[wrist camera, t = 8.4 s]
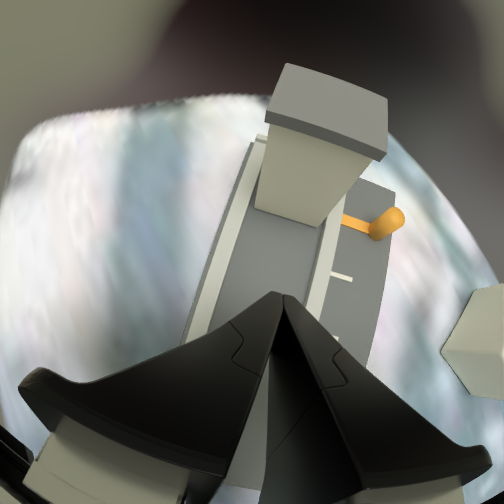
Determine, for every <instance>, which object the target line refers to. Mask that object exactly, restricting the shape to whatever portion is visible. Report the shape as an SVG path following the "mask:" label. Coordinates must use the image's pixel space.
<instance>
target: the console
mask: <svg viewBox="0 0 504 504" xmlns="http://www.w3.org/2000/svg"><path fill="white" fill-rule="evenodd" d="M266 142H267V136H263V135H260V134H257V136H256V139H255V143H253V142H251V143H250V145H249V148H248V150H247V153H246V156H245V158H244V161H243V163H242V166H241V168H240V171H239V174H238V176H237V179H236V182H235V184H234V187H233V190H232V192H231V195H230V198H229V200H228V203H227V206H226V209H225V211H224V214H223V217H222V220H221V222H220V225H219V228H218V231H217V234H216V236H215V239H214V242H213V245H212V248H211V251H210V254H209V257H208V259H207V262H206V265H205V268H204V271H203V274H202V277H201V280H200V283H199V286H198V289H197V292H196V295H195V298H194V301H193V305H192V308H191V311H190V314H189V317H188V320H187V323H186V326H185V330H184V333H183V336H182V339H181V343H180V346H181V345H183V344H185V343H188V342H190V341H192V340H194V339H197V338H199V337H201V336H203V335H205V334H207V333H209V332H211V331H212V330H214V329H216V328H217V327H219V326H221V325H222V324H223V323H225V322H227V321H229V320H230V319H231V318H233V317H234V316H236V315H237V314H239V313H240V312H242V311H243V310H244V309H246V308H247V307H249V306H250V305H251V304H253V303H254V302H256V301H257V300H259V299H260V298H261V297H263V296H264V295H266V294H267V293H268V292H270V291H275V292H279V293H281V294H282V295H283V294H287V295H291V296H294V297H295V298H296V299H297V300H298V301H299V302H300V303H301V304H302V305H303V306H304V307H305V308H306V309H307V310H308V311H309V312H310V313H311V314H312V315H313V316H314V317H315V318H316V319H317V321H318V322H319V323H320V324H321V325H322V326H323V327H324V328H325V329H326V330H327V331H328V332H329V333H330V334H331V335H332V336H333V337H334V338H335V339H336V340H337V341H338V342H339V343H340V344H341V345H342V346H343V348H345V349H346V350H347V351H348V352H349V353H350V354H351V355H352V356H353V357H354V358H355V359H356V360H357V361H358V362H359V363H360V364H361V365H363V366H364V367H365V368H366V364H367V361H368V357H369V353H370V349H371V345H372V341H373V337H374V333H375V329H376V325H377V320H378V315H379V311H380V306H381V301H382V296H383V290H384V285H385V279H386V273H387V266H388V259H389V252H390V244H391V236H392V232H394V231H396V230H397V229H399V228H400V227H402V226H403V225H404V222H405V217H404V214H403V213H402V211H401V210H400V209H398V208H397V207H394V204H395V192H393V191H391V190H388V189H386V188H384V187H381V186H379V185H377V184H374V183H372V182H369V181H367V180H364V179H362V178H358V179H357V180H356V181H355V183H354V184H353V185H352V186H351V188H350V189H349V190H348V191H347V193H346V194H345V195H344V196H343V197H342V199H341V200H340V201H339V202H338V204H337V205H336V206H335V207H334V208H333V210H332V211H331V212H330V213H329V214H328V216H327V217H326V218H325V219H324V220H323V222H322V223H321V224H320V225H319V226H318V228H316V227H313V226H310V225H307V224H304V223H301V222H297V221H294V220H291V219H288V218H285V217H282V216H278V215H275V214H272V213H269V212H265V211H262V210H259V209H256V208H254V205H255V200H256V195H257V189H258V184H259V179H260V173H261V168H262V163H263V158H264V152H265V147H266ZM268 378H269V358H268V361H267V364H266V367H265V370H264V373H263V376H262V379H261V382H260V385H259V388H258V391H257V394H256V397H255V400H254V403H253V406H252V408H251V411H250V414H249V417H248V420H247V422H246V425H245V428H244V431H243V433H242V436H241V439H240V441H239V444H238V447H237V449H236V452H235V455H234V457H233V460H232V462H231V465H230V468H229V470H228V473H227V476H226V478H225V480H224V482H223V483H224V484H228V485H233V486H238V487H243V488H248V489H254V490H260V491H261V489H262V485H263V480H264V475H265V467H266V444H267V415H268Z"/></svg>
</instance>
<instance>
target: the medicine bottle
mask: <svg viewBox="0 0 504 504" xmlns="http://www.w3.org/2000/svg"><path fill="white" fill-rule="evenodd" d="M441 353H442V355H443V357H444V358H445V359H446V361H447V362H448V363H449V365H450V366H451V367H452V369H453V370H454V371H455V373H456V374H457V376H458V377H459V378H460V380H461V381H462V383H463V384H464V385H465V387H466V388H467V390H468V391H469V393H470V394H471V395H473V396H478V397H484V398H491V399H497V400H504V283H502V284H498V285H494V286H490V287H486V288H482V289H478V290H475V291H474V292H473V294H472V296H471V298H470V300H469V302H468V304H467V306H466V308H465V310H464V312H463V314H462V316H461V317H460V319H459V321H458V323H457V325H456V327H455V328H454V330H453V332H452V333H451V335H450V337H449V339H448V340H447V342H446V343H445V345H444V347H443V348H442V350H441Z"/></svg>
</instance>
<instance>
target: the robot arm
mask: <svg viewBox="0 0 504 504" xmlns="http://www.w3.org/2000/svg"><path fill="white" fill-rule="evenodd" d="M268 358H269V378H268V415H267V444H266V467H265V475H264V480H263V485H262V489H261V494H260V498H259V502H258V504H465V503H464V495H463V488H462V486H463V485H465V484H467V483H469V482H470V481H472V480H474V479H476V478H477V477H479V476H480V475H482V474H483V473H485V472H486V471H487V470H489V469H490V468H491V467H492V460H491V457H490V455H489V453H488V451H487V450H486V448H485V447H484V446H483V445H475V446H471V447H463V446H460V445H458V444H456V443H454V442H453V441H452V440H451V439H449V438H448V437H447V436H446V435H444V434H443V433H442V432H441V431H440V430H438V429H437V428H436V427H435V426H434V425H432V424H431V423H430V422H429V421H427V420H426V419H425V418H424V417H423V416H421V415H420V414H419V413H418V412H417V411H415V410H414V409H413V408H412V407H411V406H409V405H408V404H407V403H406V402H405V401H404V400H402V399H401V398H400V397H399V396H398V395H396V394H395V393H394V392H393V391H392V390H390V389H389V388H388V387H387V386H386V385H385V384H383V383H382V382H381V381H380V380H379V379H377V378H376V377H375V376H374V375H373V374H372V373H370V372H369V371H368V370H367V369H366V368H365V367H364V366H363V365H361V364H360V363H359V362H358V361H357V360H356V359H355V358H354V357H353V356H352V355H351V354H350V353H349V352H348V351H347V350H346V349H345V348H343V346H342V345H341V344H340V343H339V342H338V341H337V340H336V339H335V338H334V337H333V336H332V335H331V334H330V333H329V332H328V331H327V330H326V329H325V328H324V327H323V326H322V325H321V324H320V323H319V322H318V321H317V319H316V318H315V317H314V316H313V315H312V314H311V313H310V312H309V311H308V310H307V309H306V308H305V307H304V306H303V305H302V304H301V303H300V302H299V301H298V300H297V299H296V298H295V297H294V296H291V295H287V294H283V295H282V294H281V293H279V292H275V291H270V292H268V293H267V294H266V295H264V296H263V297H261V298H260V299H259V300H257V301H256V302H254V303H253V304H251V305H250V306H249V307H247V308H246V309H244V310H243V311H242V312H240V313H239V314H237V315H236V316H234V317H233V318H231V319H230V320H229V321H227V322H225V323H223V324H222V325H221V326H219V327H217V328H216V329H214V330H212V331H211V332H209V333H207V334H205V335H203V336H201V337H199V338H197V339H194V340H192V341H190V342H188V343H185V344H183V345H181V346H178V347H176V348H174V349H172V350H169V351H167V352H165V353H162V354H160V355H158V356H155V357H153V358H150V359H148V360H146V361H143V362H141V363H138V364H136V365H133V366H131V367H128V368H126V369H123V370H121V371H118V372H116V373H113V374H111V375H108V376H106V377H103V378H100V379H98V380H95V381H92V382H88V383H78V382H72V381H70V380H68V379H66V378H64V377H62V376H61V375H59V374H57V373H55V372H53V371H52V370H50V369H47V368H44V367H38V368H36V369H34V370H33V371H32V372H30V373H29V374H28V375H27V376H26V377H25V378H24V379H23V381H22V382H21V383H20V385H19V386H18V391H19V393H20V395H21V397H22V398H23V399H24V401H25V402H26V403H27V405H28V406H29V407H30V409H31V410H32V411H33V412H34V414H35V415H36V416H37V417H38V418H39V420H40V421H41V422H42V423H43V424H44V426H45V427H46V428H47V429H48V430H49V431H50V432H51V433H50V435H49V437H48V438H47V440H46V442H45V443H44V445H43V447H42V449H41V451H40V452H39V454H38V456H36V458H35V459H34V456H33V453H32V451H31V450H29V449H28V448H27V447H26V446H25V445H24V444H22V443H21V442H20V441H19V440H17V439H16V438H15V437H14V436H13V435H11V434H10V433H9V432H8V431H7V430H6V429H4V428H3V427H2V426H1V425H0V504H209V503H210V502H211V500H212V499H213V497H214V496H215V494H216V493H217V491H218V490H219V488H220V486H221V485H222V483H223V482H224V480H225V478H226V476H227V473H228V470H229V468H230V465H231V462H232V460H233V457H234V455H235V452H236V449H237V447H238V444H239V441H240V439H241V436H242V433H243V431H244V428H245V425H246V422H247V420H248V417H249V414H250V411H251V408H252V406H253V403H254V400H255V397H256V394H257V391H258V388H259V385H260V382H261V379H262V376H263V373H264V370H265V367H266V364H267V361H268ZM481 504H504V491H503V492H501V493H499V494H497V495H496V496H494V497H492V498H491V499H489V500H487V501H485V502H483V503H481Z"/></svg>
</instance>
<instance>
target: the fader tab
mask: <svg viewBox="0 0 504 504" xmlns="http://www.w3.org/2000/svg"><path fill="white" fill-rule="evenodd" d="M387 109H388V108H387V99H386V98H384V97H382V96H379V95H377V94H375V93H372V92H370V91H368V90H366V89H363V88H361V87H358V86H356V85H353V84H351V83H348V82H345V81H342V80H340V79H337V78H334V77H331V76H328V75H325V74H322V73H319V72H316V71H313V70H310V69H306V68H303V67H300V66H296V65H292V64H289V63H286V64H285V67H284V69H283V71H282V74H281V76H280V79H279V81H278V83H277V86H276V88H275V90H274V93H273V95H272V98H271V100H270V103H269V105H268V107H267V110H266V115H265V121H264V122H266V123H269V124H270V126H269V131H268V137H267V142H266V147H265V152H264V158H263V163H262V168H261V173H260V179H259V184H258V189H257V195H256V200H255V205H254V208H256V209H259V210H262V211H265V212H269V213H272V214H275V215H278V216H282V217H285V218H288V219H291V220H294V221H297V222H301V223H304V224H307V225H310V226H313V227H316V228H318V226H319V225H320V224H321V223H322V222H323V220H324V219H325V218H326V217H327V216H328V214H329V213H330V212H331V211H332V210H333V208H334V207H335V206H336V205H337V204H338V202H339V201H340V200H341V199H342V197H343V196H344V195H345V194H346V193H347V191H348V190H349V189H350V188H351V186H352V185H353V184H354V183H355V181H356V180H357V179H358V178H359V177H360V175H361V174H362V173H363V172H364V170H365V169H366V168H367V167H368V165H369V164H370V163H371V161H372V160H373V159H374V160H376V161H378V162H380V161H381V160H382V158H383V157H384V156H385V155H386V154H387V141H388V110H387Z"/></svg>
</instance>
